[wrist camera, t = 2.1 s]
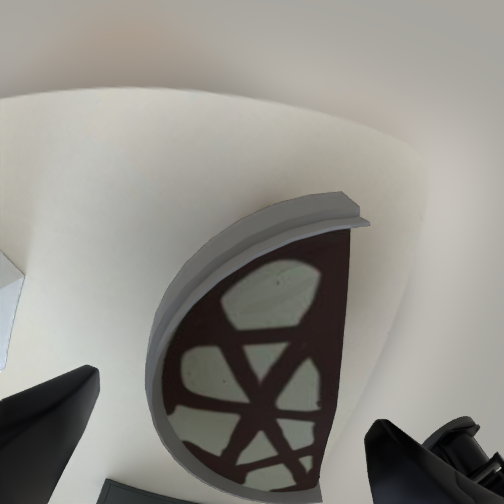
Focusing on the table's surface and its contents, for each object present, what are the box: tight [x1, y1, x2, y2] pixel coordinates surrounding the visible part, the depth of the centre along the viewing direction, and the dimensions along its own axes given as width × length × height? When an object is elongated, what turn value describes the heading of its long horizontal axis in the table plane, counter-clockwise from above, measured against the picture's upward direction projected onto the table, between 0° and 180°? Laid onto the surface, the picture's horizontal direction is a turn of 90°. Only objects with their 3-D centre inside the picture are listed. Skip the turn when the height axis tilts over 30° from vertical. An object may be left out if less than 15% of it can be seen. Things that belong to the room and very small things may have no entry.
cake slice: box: [145, 192, 370, 504], centre depth 12 cm, size 12×6×10 cm, turn 2°
